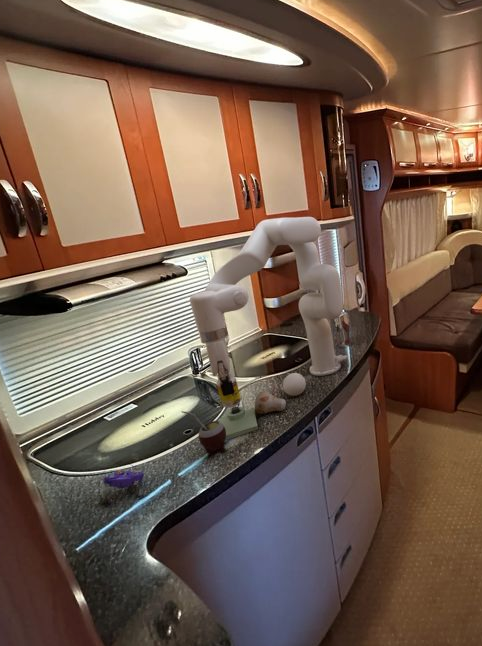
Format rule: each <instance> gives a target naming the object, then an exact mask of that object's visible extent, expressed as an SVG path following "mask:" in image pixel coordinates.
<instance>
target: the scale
mask: <svg viewBox="0 0 482 646" xmlns="http://www.w3.org/2000/svg"><path fill="white" fill-rule="evenodd" d="M238 407H239V409H240V412H239V413H237V414H232V411H231V409H230V410H228V412H227V413H226V414H227V415H225V416H222V417H219V418H218V422H220V423H221V424H223V426H224V427H225V430H226V440H230V439H233V438H236V437H239V436H242V435H245V434H249V433H252V432H255V431H258V430H259V426H258V422H257V416H256V412H255V407H252V408H249V409H245V407H243V406H238ZM226 440H225V441H226Z"/></svg>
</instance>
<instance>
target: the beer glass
mask: <svg viewBox="0 0 482 646" xmlns="http://www.w3.org/2000/svg"><path fill="white" fill-rule="evenodd" d="M333 325H334V326H333V327H334V330H335V332H336V336H337V339H338V347H340V348H347V347H350V346H351V345H352V340H351V336H350V329H351V327H350V325H351V324H350V319H349V314H348V312H347V311H342V313H341V315H340V316H339V317H338V318H336V319H333Z"/></svg>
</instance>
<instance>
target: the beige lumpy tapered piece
mask: <svg viewBox="0 0 482 646" xmlns="http://www.w3.org/2000/svg"><path fill="white" fill-rule="evenodd" d="M286 405H287V402H286V400H285V399H284V398H279V397H277V396H275V395H272V394H271V393H269V392H267V391H259V392H258V393H257V395H256V398H255V403H254V411H255V414H260V415H264V414H269V413H272V412H283V411H284V410H285V409H286Z"/></svg>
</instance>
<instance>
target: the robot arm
mask: <svg viewBox="0 0 482 646" xmlns="http://www.w3.org/2000/svg"><path fill="white" fill-rule="evenodd" d="M321 232H322V228H321V224H320V222H319V221H318V220H317V219H316V218H315V217H312V216H300V217H298V216H297V217H277V218H269V219H268V218H267V219H263V220H262V221H260V222H259V223H258V224H256V226H255V228H254V230H253V231H252V233H251V234H250V236H249V237H248V239H246V241H245V243H244V245H243V246H242V248H241V250H240V251H238V253H237V254H236V255H234V256H233V257H232V258H231V259H229V260H228V261H227V262H226V263H224V264H223V265H222V266H220V268H219V269H218V270H217V271H216V272H215V273H214V274H213V276H212V277H211V279H210V280H209V282H208V284H207V285H206V287H205V290H203V291H201V292H196V293H194V294H192V295H191V296H190V298H189V303H190V307H191V311H192V314H193V318H194V321H195V326H196V329H197V332H198V336H199V340H200V343H201V344H204V345H205V349H206V353H207V354H206V355H207V357H208V362H209V365H210V369H211V372H212V376H213V377H216V376H217V375H219V379H220V386H221V389H222V393H223V396H227V395H230V394H234V388H233V384H232V380H231V381H230V376H229V372H230V371H231V361H230V354H229V349H228V345H227V342H226V339H228V338H229V331H228V327H227V324H226V319H225V316H224V314H225V313H230V312H235V311H240V310H241V309H242V308H245V306H246V305H247V304H248V302H249V299H250V297H249V296H250V295H249V293H248V291H247V290H246V288H245V287H243V286H241V285H237V284H238V283H239V282H240V281H241V280H244V278H247V277H248V276H251V275H254V274H256V273H257V272H259V271H261V270H262V269H264V268H265V266H266V264H267V263H268V261H269V259H270V258H271V256H272V255H273V253H274V251H275V249H276V248H277V246H289V247H290V248H291V249H292V251H293V253H294V256H295V261H296V269H297V277H298V281H299V285H300V287H301V288H302V289H304V290H307V291H321V292H310V293H308V292H307V293H306V294H303V295H302V296H301V297H300V299H299V301H298V310H299V313H300V317H301V318H302V320H303V324H304V328H305V333H306V337H307V343H308V349H309V354H310V358H311V365H310V366H309V369H308V370H309V374H311V375H312V376H315V377H316V376H317V377H325V376H329V375H332V374H335V373H336V372H338V371H339V370H340V369H341V367H342V364H341V363H342V362H345V361H348V359H349V358H348V355H347V354H346V355H343V354H339V355H337V354H336V353H335V347H334V340H333V335H332V329H331V325H330V321H329V320H334V319H336V318H338V317H339V316H340V315H341V313H342V312H343V308H344V307H343V306H344V303H343V292H342V284H341V276H340V274H339V271H338V270H337V268H336V267H335V266H334V265H332V264H328V263H327V264H324V263H323V264H322V263H321V261H320V255H319V250H318V247H317V246H316V243H315V242H316V241H317V240H318V239H319V238H320V236H321V234H322V233H321ZM225 371H227V372H225ZM225 374H227V376H226V375H225Z"/></svg>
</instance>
